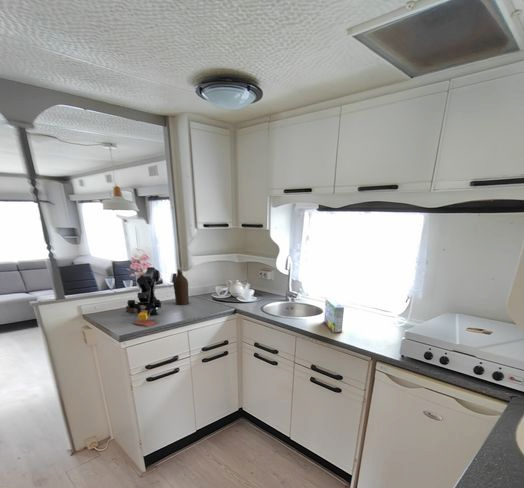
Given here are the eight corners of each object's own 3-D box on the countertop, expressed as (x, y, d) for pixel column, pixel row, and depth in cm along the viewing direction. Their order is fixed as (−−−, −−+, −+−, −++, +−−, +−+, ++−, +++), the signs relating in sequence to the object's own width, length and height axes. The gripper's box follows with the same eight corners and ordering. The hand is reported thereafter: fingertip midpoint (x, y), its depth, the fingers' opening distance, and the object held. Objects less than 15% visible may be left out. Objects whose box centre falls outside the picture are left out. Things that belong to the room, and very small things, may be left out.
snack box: (323, 321, 205) (325, 298, 200) (331, 321, 206) (334, 298, 200) (332, 332, 186) (335, 307, 180) (342, 332, 186) (345, 307, 181)
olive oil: (192, 304, 242) (189, 269, 233) (178, 306, 236) (175, 271, 227) (185, 301, 250) (183, 268, 240) (172, 303, 244) (169, 269, 234)
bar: (142, 314, 201) (142, 310, 199) (149, 314, 201) (149, 309, 200) (138, 320, 190) (137, 315, 189) (146, 319, 191) (145, 315, 190)
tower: (142, 310, 223) (140, 300, 221) (134, 313, 217) (132, 302, 215) (134, 309, 226) (133, 299, 223) (126, 311, 220) (125, 301, 218)
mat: (133, 323, 196) (133, 322, 196) (143, 320, 203) (143, 319, 203) (147, 326, 192) (146, 325, 192) (156, 322, 198) (156, 322, 198)
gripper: (125, 286, 192) (123, 309, 186) (158, 286, 194) (156, 309, 188) (131, 296, 202) (128, 318, 196) (161, 296, 204) (160, 318, 198)
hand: (143, 316), depth 194 cm, fingers closed on bar, 4 cm apart
